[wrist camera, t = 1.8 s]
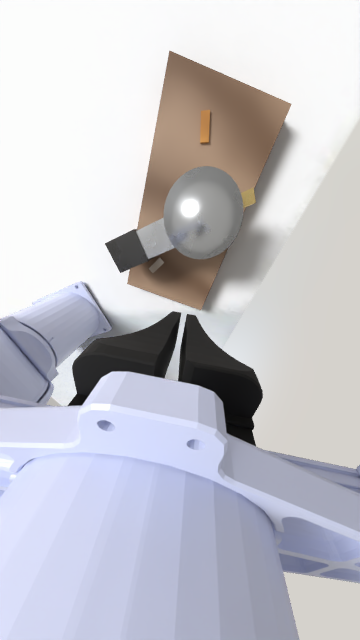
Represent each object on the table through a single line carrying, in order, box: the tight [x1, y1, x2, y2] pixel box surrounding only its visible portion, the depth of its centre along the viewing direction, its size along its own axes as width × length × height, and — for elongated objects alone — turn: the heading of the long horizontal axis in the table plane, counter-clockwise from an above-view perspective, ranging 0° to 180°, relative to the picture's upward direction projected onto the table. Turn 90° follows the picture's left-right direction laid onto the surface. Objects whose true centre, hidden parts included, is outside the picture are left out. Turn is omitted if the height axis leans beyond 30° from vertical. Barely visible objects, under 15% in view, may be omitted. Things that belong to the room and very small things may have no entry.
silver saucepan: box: [105, 166, 256, 273], centre depth 15 cm, size 13×6×3 cm, turn 111°
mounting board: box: [127, 51, 291, 310], centre depth 17 cm, size 10×18×2 cm, turn 161°
